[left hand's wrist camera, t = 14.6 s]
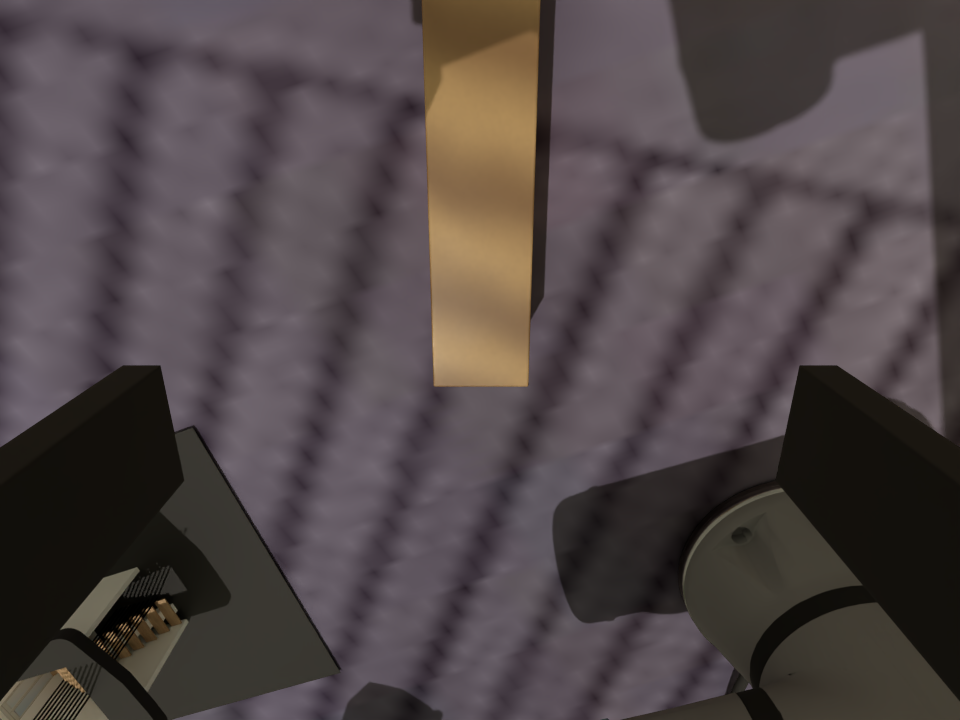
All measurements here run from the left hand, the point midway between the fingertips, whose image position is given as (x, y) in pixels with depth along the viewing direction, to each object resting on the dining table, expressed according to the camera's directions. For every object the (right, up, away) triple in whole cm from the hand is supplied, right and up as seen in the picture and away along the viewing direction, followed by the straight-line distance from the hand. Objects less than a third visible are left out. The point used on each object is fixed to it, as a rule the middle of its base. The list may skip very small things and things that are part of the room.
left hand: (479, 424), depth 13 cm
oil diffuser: (-28, -18, +34) cm, 47 cm away
